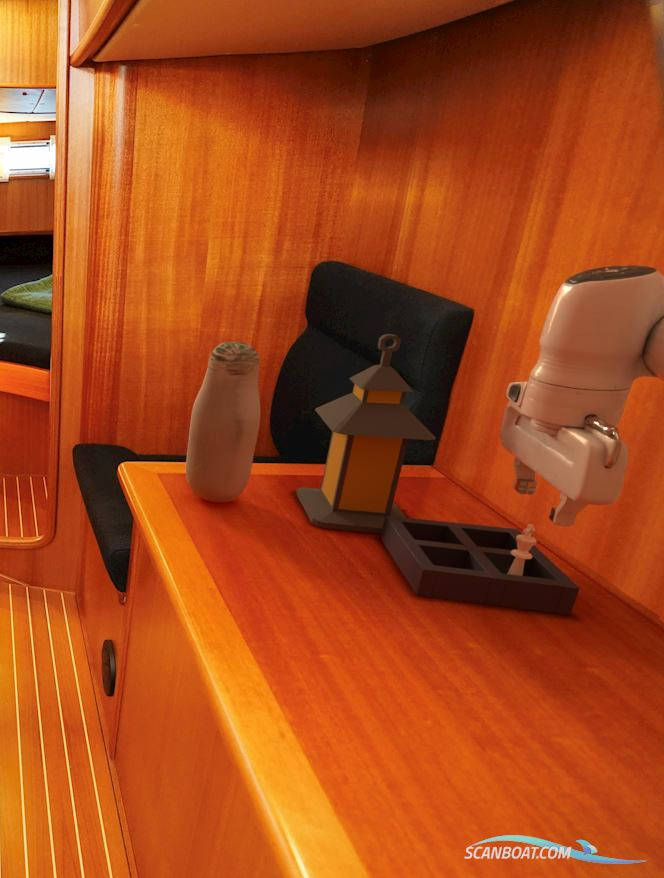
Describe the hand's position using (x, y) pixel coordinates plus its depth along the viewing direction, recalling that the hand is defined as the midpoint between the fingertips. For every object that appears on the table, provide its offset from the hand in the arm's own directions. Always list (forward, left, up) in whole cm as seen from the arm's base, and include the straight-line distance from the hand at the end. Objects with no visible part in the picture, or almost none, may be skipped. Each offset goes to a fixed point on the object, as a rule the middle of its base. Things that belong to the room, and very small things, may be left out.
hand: (540, 507), depth 89 cm
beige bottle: (+35, -21, -13) cm, 43 cm away
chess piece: (0, 0, -13) cm, 13 cm away
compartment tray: (+4, -4, -13) cm, 14 cm away
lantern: (+14, -21, -13) cm, 28 cm away
